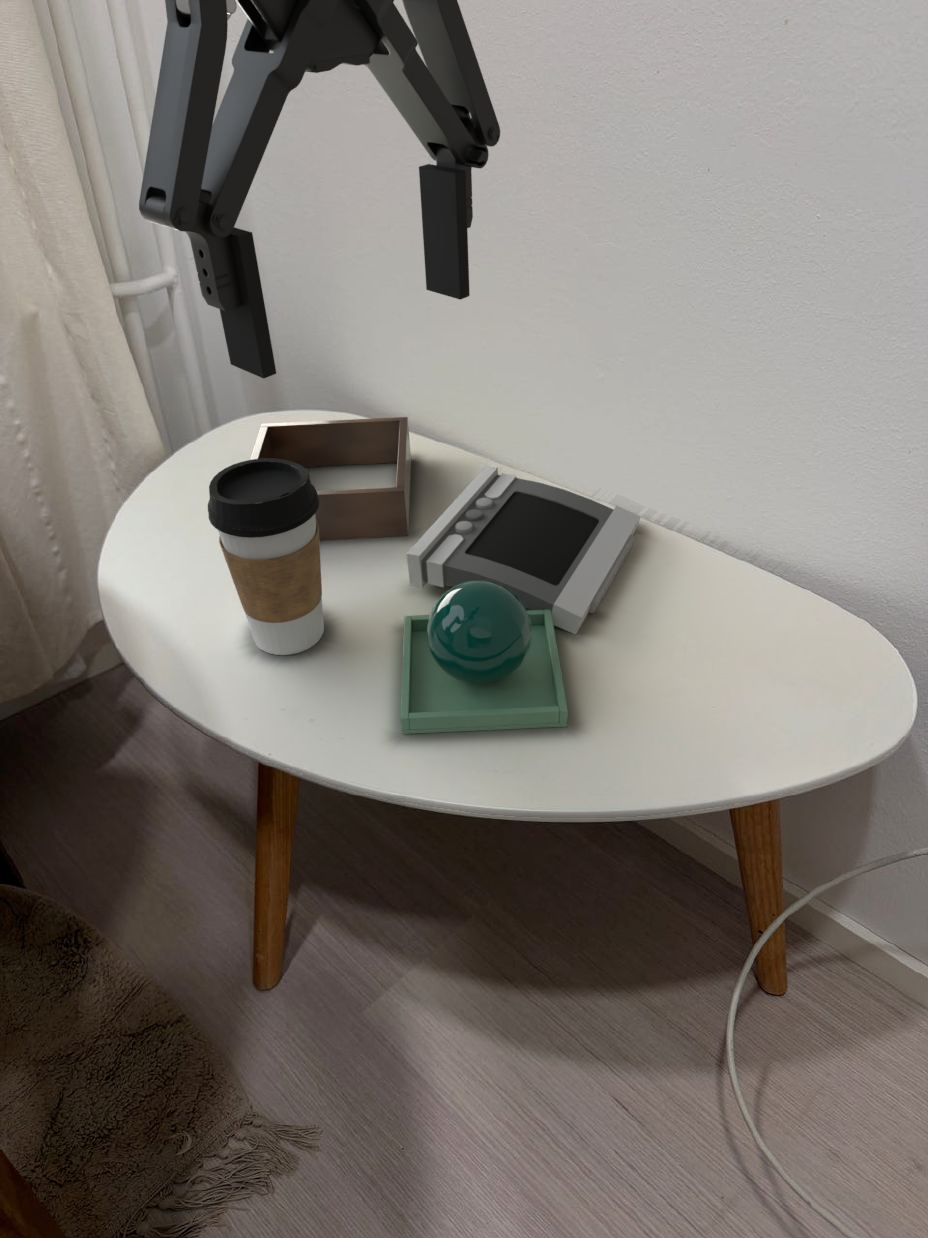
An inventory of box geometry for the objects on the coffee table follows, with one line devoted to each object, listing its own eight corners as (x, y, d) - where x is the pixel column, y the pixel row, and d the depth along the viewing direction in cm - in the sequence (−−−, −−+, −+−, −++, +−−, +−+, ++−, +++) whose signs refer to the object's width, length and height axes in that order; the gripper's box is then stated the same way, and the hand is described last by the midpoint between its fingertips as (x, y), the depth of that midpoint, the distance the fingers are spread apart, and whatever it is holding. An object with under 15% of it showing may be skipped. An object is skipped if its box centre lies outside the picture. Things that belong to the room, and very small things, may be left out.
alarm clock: (486, 465, 91) (646, 491, 86) (488, 506, 94) (643, 534, 88) (406, 553, 79) (587, 590, 73) (411, 597, 82) (586, 636, 76)
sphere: (409, 668, 73) (401, 587, 68) (486, 626, 77) (484, 547, 72) (473, 722, 68) (469, 639, 63) (552, 674, 72) (555, 592, 67)
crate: (247, 543, 89) (237, 498, 86) (269, 465, 101) (261, 423, 98) (408, 535, 89) (404, 490, 86) (411, 458, 101) (407, 416, 98)
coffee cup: (273, 680, 73) (237, 519, 64) (220, 631, 78) (180, 476, 69) (358, 634, 77) (337, 477, 68) (303, 591, 82) (276, 439, 73)
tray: (402, 734, 68) (400, 718, 67) (405, 630, 77) (404, 615, 76) (567, 726, 68) (567, 711, 67) (550, 623, 77) (550, 609, 76)
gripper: (39, -240, 26) (198, 432, 40) (576, -212, 40) (562, 279, 53) (-67, -214, 31) (109, 386, 44) (452, -197, 44) (468, 255, 58)
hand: (358, 328), depth 49 cm, fingers open, 13 cm apart
